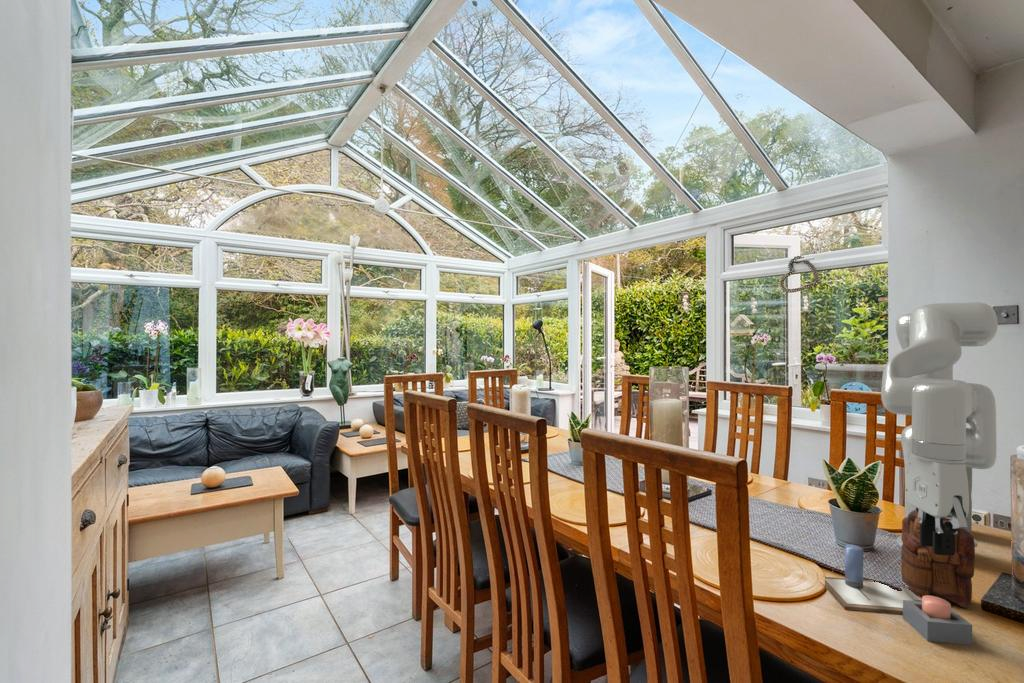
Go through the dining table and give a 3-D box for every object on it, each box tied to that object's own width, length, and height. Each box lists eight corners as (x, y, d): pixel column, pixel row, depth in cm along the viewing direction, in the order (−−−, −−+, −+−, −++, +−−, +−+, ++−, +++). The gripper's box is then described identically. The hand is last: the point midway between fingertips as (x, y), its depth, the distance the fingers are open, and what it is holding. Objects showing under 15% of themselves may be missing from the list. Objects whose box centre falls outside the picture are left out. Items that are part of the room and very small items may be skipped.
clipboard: (897, 584, 106) (897, 579, 106) (935, 616, 94) (935, 610, 94) (817, 579, 109) (817, 573, 109) (844, 609, 97) (844, 603, 97)
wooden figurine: (897, 590, 104) (898, 506, 103) (901, 579, 108) (902, 499, 108) (973, 613, 95) (974, 522, 95) (975, 600, 100) (976, 513, 99)
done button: (940, 614, 91) (940, 596, 91) (956, 627, 87) (956, 608, 87) (916, 612, 92) (916, 594, 92) (931, 625, 88) (931, 606, 88)
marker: (858, 581, 106) (858, 545, 106) (866, 589, 103) (866, 551, 103) (842, 580, 107) (842, 544, 106) (849, 587, 103) (849, 550, 103)
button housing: (944, 621, 93) (944, 603, 92) (972, 644, 86) (972, 625, 86) (902, 617, 94) (902, 600, 94) (927, 640, 87) (927, 621, 87)
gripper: (888, 440, 98) (887, 531, 98) (946, 461, 82) (945, 569, 82) (930, 441, 96) (929, 533, 97) (997, 463, 80) (996, 573, 81)
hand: (936, 549), depth 89 cm, fingers open, 2 cm apart
